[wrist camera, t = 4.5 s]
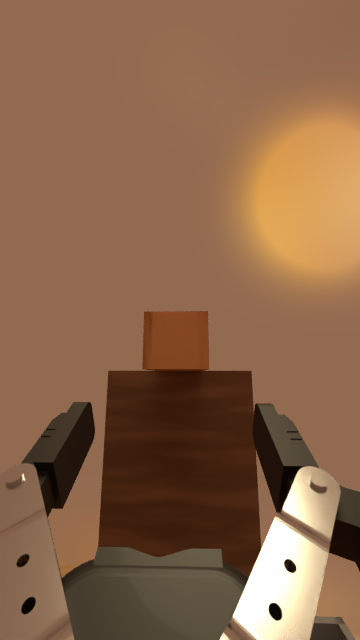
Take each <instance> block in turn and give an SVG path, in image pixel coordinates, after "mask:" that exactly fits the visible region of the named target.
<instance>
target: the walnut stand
mask: <svg viewBox="0 0 360 640" xmlns="http://www.w3.org/2000/svg"><path fill="white" fill-rule="evenodd" d="M107 389H108V390H107V406H106V422H105V440H104V458H103V474H102V492H101V509H100V526H99V543H98V544H99V545H98V547H128V548H131V549H134V550H137V551H140V552H143V553H146V554H149V555H151V556H154V557H163V556H167V555H170V554H173V553H177V552H180V551H184V550H187V549H221V554H222V561H224V562H226V563H229V564H231V565H233V566H235V567H236V568H238V569H239V570H241V571H242V572H244V573H245V574H246V575H247V576H248V577H250V575H251V573H252V570H253V568H254V566H255V563H256V561H257V559H258V556H259V554H260V552H261V538H260V519H259V503H258V484H257V465H256V448H255V445H254V441H253V420H254V412H253V392H252V374H251V371H108V388H107Z"/></svg>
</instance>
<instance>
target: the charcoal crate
mask: <svg viewBox="0 0 360 640" xmlns="http://www.w3.org/2000/svg"><path fill="white" fill-rule="evenodd" d="M310 640H355V638H354V637H353V635H352V633H351V632H350V630H349V629H348V627H347V626H346V624H345V623H344V621H343V619H342V618H341V617H315V618H314V623H313V628H312V632H311V637H310Z"/></svg>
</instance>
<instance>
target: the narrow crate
mask: <svg viewBox="0 0 360 640" xmlns="http://www.w3.org/2000/svg"><path fill="white" fill-rule="evenodd" d="M143 369H146V370H154V371H204V370H208V369H209V343H208V311H204V312H203V311H200V312H199V311H197V312H196V311H191V312H189V311H188V312H187V311H186V312H144V336H143Z"/></svg>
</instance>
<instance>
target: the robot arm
mask: <svg viewBox="0 0 360 640" xmlns="http://www.w3.org/2000/svg"><path fill="white" fill-rule="evenodd" d="M94 434H95V426H94V419H93V412H92V405H91V403H90V402H74V403H73V404H72V405H71V407H70V408H69V410H68V411H67V413H61V414H60V415H58V416H57V417H56V418H55V419H53V420H52V421H51V423H50V424H49V426H48V427H47V428H46V430H45V431H44V432H43V434H42V435H41V438H39V439H38V441H37V442H36V443H35V445H34V446H33V448H32V449H31V450H30V452H29V453H28V455H27V456H26V457H25V459H24V460H23V461H22V463H21V464H19V465H15V466H13V467H11V468H9V469H7V470H6V471H4V472H3V473H2V474H1V475H0V640H310V637H311V632H312V628H313V623H314V618H315V614H316V609H317V604H318V600H319V595H320V590H321V585H322V581H323V576H324V572H325V567H326V562H327V557H328V553H332V554H335V555H338V556H340V557H343V558H346V559H348V560H351V561H354V562H356V564H357V566H358V569H359V571H360V492H358V491H354V490H351V489H347V488H344V487H342V486H340V485H338V483H337V481H336V480H335V479H334V478H333V477H332V476H331V475H330V474H329V473H327V472H326V471H324V470H322V469H320V468H319V467H318V465H317V463H316V461H315V460H314V458H313V456H312V454H311V453H310V451H309V449H308V447H307V446H306V444H305V442H304V441H303V439H302V437H301V435H300V433H298V430H297V428H296V426H295V425H294V423H293V422H292V421H291V420H290V419H289V418H288V417H286V416H285V415H278V414H277V412H276V410H275V408H274V406H273V404H255V410H254V420H253V441H254V445H255V448H256V451H257V454H258V457H259V460H260V463H261V466H262V469H263V472H264V475H265V478H266V481H267V485H268V487H269V490H270V494H271V497H272V500H273V503H274V506H275V509H276V512H277V515H276V517H275V519H274V522H273V524H272V526H271V529H270V531H269V533H268V535H267V538H266V540H265V542H264V545H263V547H262V549H261V552H260V554H259V556H258V559H257V561H256V563H255V566H254V568H253V570H252V573H251V575H250V577H248V576H247V575H246V574H245V573H244V572H242V571H241V570H239V569H238V568H236V567H235V566H233V565H231V564H229V563H226V562H224V561H222V554H221V549H187V550H184V551H180V552H177V553H173V554H170V555H167V556H163V557H154V556H151V555H149V554H146V553H143V552H140V551H137V550H134V549H131V548H128V547H98V549H97V552H96V556H95V559H93V560H90V561H88V562H85V563H83V564H81V565H80V566H78V567H76V568H74V569H73V570H72V571H70V572H69V573H67V574H66V575H65V576H64V577H63V578H62V577H61V573H60V568H59V564H58V560H57V555H56V551H55V547H54V542H53V538H52V534H51V529H50V525H49V521H48V516H49V514H50V512H51V510H52V508H55V509H62V508H63V506H64V504H65V502H66V500H67V498H68V495H69V493H70V491H71V489H72V486H73V484H74V482H75V480H76V478H77V475H78V473H79V471H80V469H81V467H82V464H83V462H84V460H85V458H86V456H87V453H88V451H89V449H90V447H91V444H92V442H93V439H94Z"/></svg>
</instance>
